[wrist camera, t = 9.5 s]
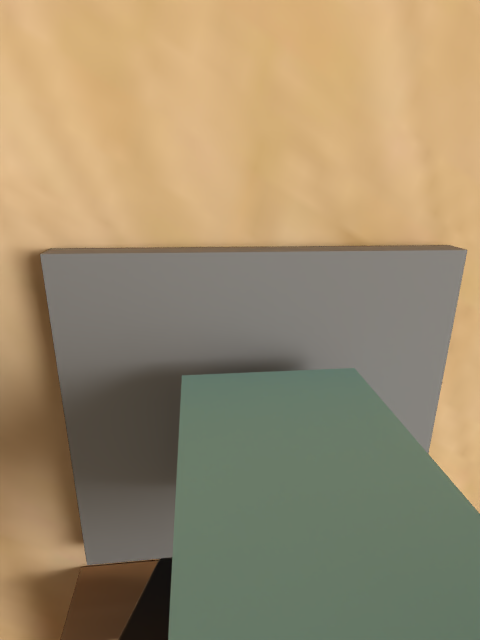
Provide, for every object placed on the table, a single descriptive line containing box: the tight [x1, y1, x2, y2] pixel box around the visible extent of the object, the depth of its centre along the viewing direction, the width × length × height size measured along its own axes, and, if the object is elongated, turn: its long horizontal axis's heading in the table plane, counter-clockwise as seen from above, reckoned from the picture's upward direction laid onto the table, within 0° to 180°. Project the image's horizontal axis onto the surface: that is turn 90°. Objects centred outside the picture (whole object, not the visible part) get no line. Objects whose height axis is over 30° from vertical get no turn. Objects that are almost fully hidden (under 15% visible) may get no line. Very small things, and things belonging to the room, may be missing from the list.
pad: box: [40, 245, 467, 565], centre depth 12 cm, size 10×11×1 cm
